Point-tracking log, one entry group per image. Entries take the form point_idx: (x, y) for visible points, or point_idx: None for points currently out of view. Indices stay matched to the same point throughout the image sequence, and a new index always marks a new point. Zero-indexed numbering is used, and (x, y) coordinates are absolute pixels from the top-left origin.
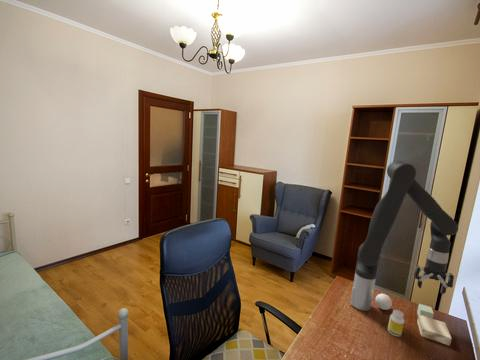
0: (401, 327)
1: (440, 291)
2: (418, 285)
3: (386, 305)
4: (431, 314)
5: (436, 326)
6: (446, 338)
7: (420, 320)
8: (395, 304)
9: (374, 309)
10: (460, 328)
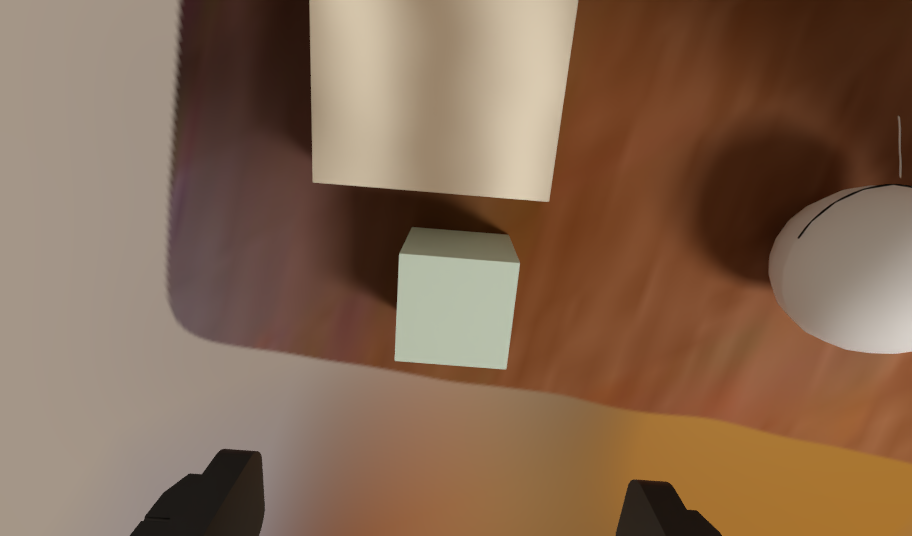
0: None
1: (260, 523)
2: (705, 533)
3: (885, 191)
4: (418, 250)
5: (417, 60)
6: None
7: (562, 94)
8: (658, 353)
9: None
10: (196, 257)
